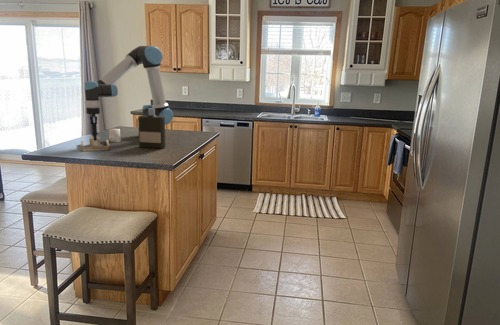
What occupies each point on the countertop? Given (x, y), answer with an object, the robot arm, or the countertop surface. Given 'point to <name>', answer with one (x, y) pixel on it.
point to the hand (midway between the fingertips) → (95, 145)
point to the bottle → (151, 130)
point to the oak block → (92, 141)
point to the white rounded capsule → (114, 135)
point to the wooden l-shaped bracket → (95, 147)
